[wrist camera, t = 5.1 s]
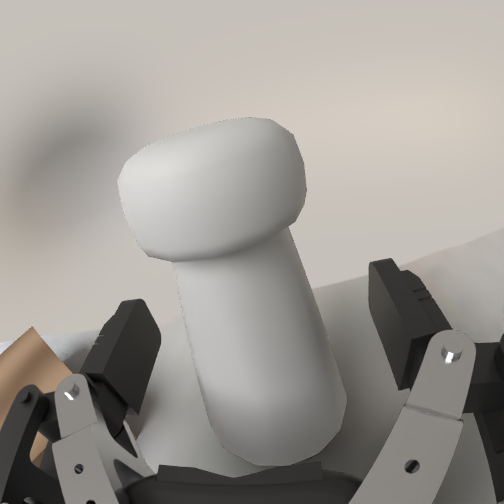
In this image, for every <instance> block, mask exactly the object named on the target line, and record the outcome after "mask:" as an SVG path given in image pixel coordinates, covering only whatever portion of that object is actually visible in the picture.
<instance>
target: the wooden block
mask: <svg viewBox="0 0 504 504" xmlns="http://www.w3.org/2000/svg"><path fill="white" fill-rule="evenodd" d="M72 374H73V373H72V372H71V371H70V370H69V369H68V368H67V367H66V366H65V364H64V363H63V362H62V361H61V360H60V359H59V358H58V357H57V355H56V354H55V353H54V352H53V351H52V350H51V349H50V347H49V346H48V345H47V344H46V343H45V341H44V340H43V339H42V338H41V337H40V335H39V334H38V333H37V332H36V330H35V329H34V328H33V327H31V328H30V329H29V330H28V331H26V332H25V333H24V334H23V335H22V336H21V337H19V338H18V339H17V340H16V341H15V342H14V343H13V344H12V345H10V346H9V347H8V348H7V349H6V350H5V351H4V352H3V353H2V354H1V355H0V430H1V428H2V425H3V423H4V421H5V418H6V416H7V414H8V412H9V410H10V407H11V405H12V403H13V401H14V399H15V397H16V395H17V393H18V392H19V391H20V390H21V389H22V388H23V387H25V386H27V385H30V384H34V385H36V386H37V387H38V388H39V389H40V390H41V391H42V392H43V393H49V392H53V391H55V390H56V388H57V386H58V384H59V383H60V382H61V381H62V380H63V379H64V378H66V377H67V376H69V375H72ZM132 435H133V437H134V439H136V438H137V437H136V436H135V435H134V434H133V433H132ZM47 442H48V439H47V438H46V437H44V436H43V435H42V434H41V433H40V432H37V434H36V437H35V440H34V443H33V445H32V448H31V451H30V459H31V462H32V463H33V464H34V465H35V466H36V467H38V468H39V467H40V464H41V461H42V457H43V454H44V451H45V448H46V445H47Z"/></svg>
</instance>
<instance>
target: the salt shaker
mask: <svg viewBox="0 0 504 504" xmlns="http://www.w3.org/2000/svg"><path fill="white" fill-rule="evenodd" d="M117 182H118V187H119V194H120V199H121V204H122V209H123V212H124V214H125V217H126V219H127V221H128V224H129V226H130V228H131V230H132V232H133V235H134V237H135V239H136V241H137V243H138V245H139V246H140V247H141V249H142V250H143V251H144V252H145V253H146V254H147V255H148V256H149V257H154V258H158V259H162V260H167V261H171V262H172V264H173V268H174V273H175V277H176V283H177V288H178V293H179V298H180V303H181V308H182V313H183V318H184V322H185V327H186V331H187V336H188V340H189V345H190V349H191V353H192V357H193V361H194V365H195V369H196V373H197V377H198V381H199V385H200V389H201V393H202V396H203V400H204V403H205V407H206V411H207V414H208V418H209V421H210V424H211V427H212V428H213V430H214V432H215V433H216V435H217V437H218V439H219V440H220V442H221V444H222V445H223V447H224V448H225V449H227V450H228V451H230V452H231V453H233V454H235V455H237V456H239V457H241V458H242V459H244V460H246V461H248V462H250V463H252V464H254V465H262V466H290V465H292V464H295V463H297V462H300V461H302V460H305V459H307V458H309V457H312V456H314V455H316V454H319V453H320V452H321V451H322V449H323V448H324V447H325V446H326V445H327V444H328V443H329V442H330V441H331V440H332V439H333V437H334V436H335V435H336V434H337V433H338V432H339V431H340V428H341V426H342V422H343V417H344V413H345V409H346V404H347V399H348V398H347V395H346V392H345V389H344V386H343V383H342V380H341V377H340V374H339V370H338V367H337V364H336V361H335V358H334V355H333V352H332V349H331V346H330V343H329V340H328V337H327V334H326V331H325V328H324V325H323V322H322V319H321V316H320V313H319V310H318V307H317V304H316V301H315V298H314V296H313V293H312V290H311V287H310V284H309V282H308V279H307V276H306V273H305V270H304V268H303V265H302V262H301V259H300V257H299V254H298V251H297V249H296V246H295V243H294V240H293V238H292V235H291V233H290V230H289V227H288V226H290V225H291V224H292V223H294V222H295V221H296V219H297V217H298V215H299V214H300V212H301V210H302V208H303V206H304V203H305V197H306V191H307V188H306V178H305V169H304V162H303V159H302V156H301V154H300V151H299V148H298V146H297V143H296V140H295V138H294V135H293V134H292V133H290V132H289V131H288V130H286V129H285V128H283V127H282V126H280V125H279V124H277V123H276V122H275V121H273V120H270V119H261V118H252V117H249V118H238V119H231V120H225V121H220V122H216V123H211V124H207V125H203V126H199V127H196V128H192V129H189V130H186V131H183V132H180V133H176V134H174V135H171V136H169V137H166V138H164V139H162V140H160V141H157V142H155V143H152V144H150V145H148V146H146V147H145V148H143V149H141V150H140V151H139V152H138V153H136V154H135V155H134V156H133V157H131V158H130V159H129V160H128V161H126V163H125V165H124V167H123V169H122V172H121V174H120V176H119V179H118V181H117Z"/></svg>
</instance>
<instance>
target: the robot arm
mask: <svg viewBox="0 0 504 504" xmlns="http://www.w3.org/2000/svg"><path fill="white" fill-rule="evenodd" d="M368 299H369V308H370V313H371V316H372V318H373V321H374V323H375V326H376V329H377V331H378V334H379V336H380V339H381V342H382V344H383V347H384V350H385V352H386V355H387V358H388V361H389V363H390V366H391V369H392V372H393V375H394V378H395V381H396V384H397V387H398V390H403V389H406V388H410V391H411V393H410V395H409V397H408V400H407V402H406V404H405V405H404V406H403V408H402V411H401V413H400V415H399V417H398V419H397V421H396V423H395V425H394V427H393V429H392V431H391V433H390V435H389V437H388V439H387V441H386V443H385V445H384V447H383V448H382V450H381V452H380V454H379V456H378V457H377V459H376V461H375V463H374V464H373V466H372V468H371V469H370V471H369V473H368V474H367V476H366V478H365V479H364V481H363V480H361V479H359V478H357V477H354V476H352V475H349V474H345V473H342V472H336V471H329V470H322V466H321V462H316V463H309V464H301V465H291V466H280V467H275V468H272V469H269V470H265V471H261V472H258V473H254V474H250V475H246V476H242V477H237V478H231V477H227V476H223V475H219V474H215V473H211V472H208V471H204V470H201V469H197V468H192V467H178V466H167V465H159V468H158V473H157V474H155V473H154V472H153V470H152V469H151V468H150V467H149V466H148V465H147V463H146V462H145V460H144V458H143V456H142V454H141V452H140V450H139V448H138V445H137V443H136V441H135V439H134V437H133V435H132V432H131V430H130V428H129V425H128V424H127V422H126V421H125V420H124V419H125V416H126V414H131V415H139V412H140V408H141V405H142V402H143V398H144V395H145V392H146V388H147V385H148V382H149V379H150V376H151V373H152V369H153V366H154V363H155V360H156V357H157V354H158V351H159V348H160V345H161V333H160V330H159V328H158V326H157V324H156V322H155V320H154V318H153V317H152V315H151V313H150V311H149V309H148V307H147V305H146V303H145V302H144V300H142V299H134V300H127V301H122V302H121V304H120V305H119V307H118V309H117V311H116V313H115V315H113V316H112V317H111V318H110V320H108V321H107V322H106V324H104V326H103V328H102V330H101V332H100V334H99V337H97V339H96V341H95V345H93V347H92V349H91V351H90V353H89V355H88V357H87V359H86V361H85V362H84V365H83V367H82V369H81V371H80V373H79V374H72V375H69V376H67V377H66V378H64V379H63V380H62V381H61V382H60V383H59V384H58V386H57V388H56V390H55V391H53V392H49V393H43V392H42V391H41V390H40V389H39V388H38V387H37V386H36V385H34V384H30V385H27V386H25V387H23V388H22V389H21V390H20V391H19V392H18V393H17V395H16V397H15V399H14V401H13V403H12V405H11V407H10V410H9V412H8V414H7V416H6V418H5V421H4V423H3V425H2V428H1V430H0V504H432V503H433V501H434V499H435V497H436V494H437V492H438V490H439V488H440V486H441V484H442V481H443V479H444V477H445V474H446V472H447V470H448V467H449V465H450V462H451V460H452V457H453V454H454V452H455V449H456V446H457V443H458V440H459V437H460V434H461V431H462V427H463V420H461V415H462V413H472V412H473V413H474V416H475V419H476V422H477V425H478V428H479V431H480V435H481V438H482V441H483V445H484V448H485V452H486V456H487V460H488V463H489V467H490V472H491V476H492V480H493V485H494V490H495V495H496V501H497V504H504V334H503V335H502V337H501V340H500V342H494V343H474V342H473V341H472V339H471V338H470V337H469V336H468V335H466V334H465V333H463V332H460V331H457V330H453V329H452V328H451V326H450V325H449V323H448V321H447V320H446V318H445V316H444V315H443V313H442V311H441V310H440V308H439V307H438V305H437V304H436V302H435V300H434V299H433V298H432V296H431V294H430V293H429V291H428V290H426V287H425V285H424V284H423V282H422V281H421V279H420V278H419V277H418V276H416V275H415V274H413V273H412V272H410V271H409V270H405V271H400V270H399V268H398V267H397V265H396V264H395V262H394V261H393V259H391V258H388V259H383V260H378V261H373V262H370V263H369V296H368ZM37 432H40V433H41V434H42V435H43V436H44V437H46V438H47V439H48V442H47V445H46V448H45V451H44V454H43V457H42V461H41V464H40V467H39V468H38V467H36V466H35V465H34V464H33V463H32V462H31V459H30V451H31V448H32V445H33V443H34V440H35V437H36V434H37Z"/></svg>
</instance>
